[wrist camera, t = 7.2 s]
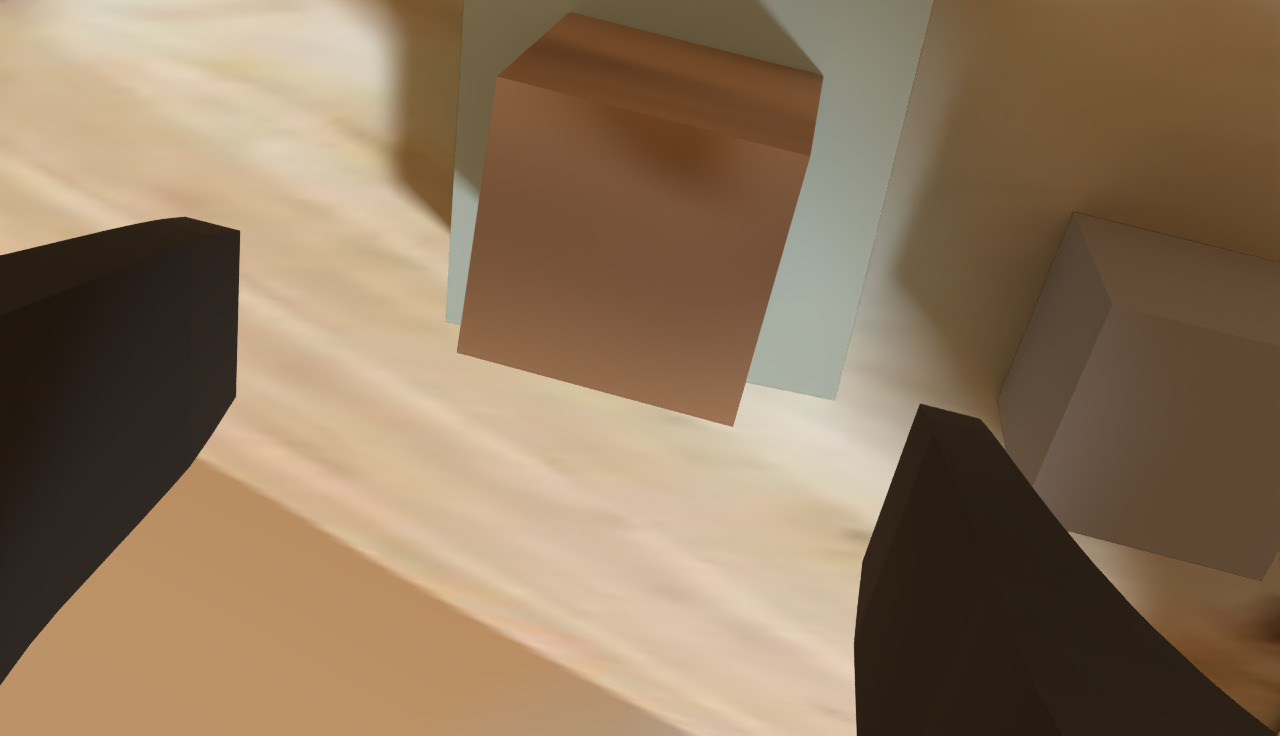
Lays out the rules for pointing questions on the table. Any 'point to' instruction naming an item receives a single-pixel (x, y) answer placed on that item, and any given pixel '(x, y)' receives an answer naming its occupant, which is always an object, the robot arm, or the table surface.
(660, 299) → the walnut cube
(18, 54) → the table surface
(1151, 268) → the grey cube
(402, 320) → the table surface
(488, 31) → the base block
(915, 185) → the table surface
